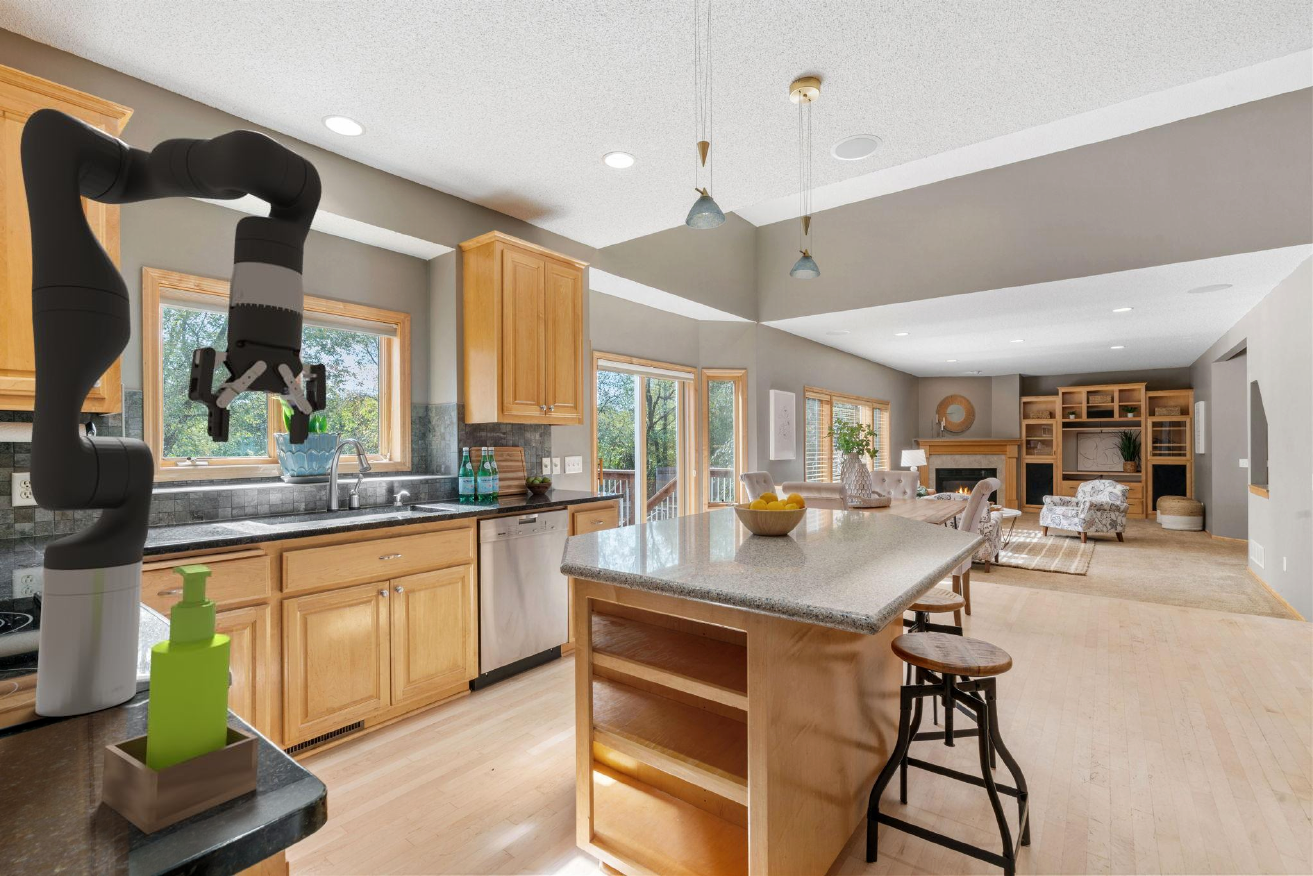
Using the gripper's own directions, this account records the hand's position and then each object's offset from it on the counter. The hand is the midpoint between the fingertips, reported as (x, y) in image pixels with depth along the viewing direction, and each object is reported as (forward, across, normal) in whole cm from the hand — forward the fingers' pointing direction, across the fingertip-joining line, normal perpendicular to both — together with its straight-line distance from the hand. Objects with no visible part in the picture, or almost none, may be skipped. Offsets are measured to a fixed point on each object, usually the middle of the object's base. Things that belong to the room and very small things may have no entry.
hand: (260, 443), depth 73 cm
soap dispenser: (+32, +11, +12) cm, 36 cm away
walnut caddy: (+33, +11, +12) cm, 36 cm away
